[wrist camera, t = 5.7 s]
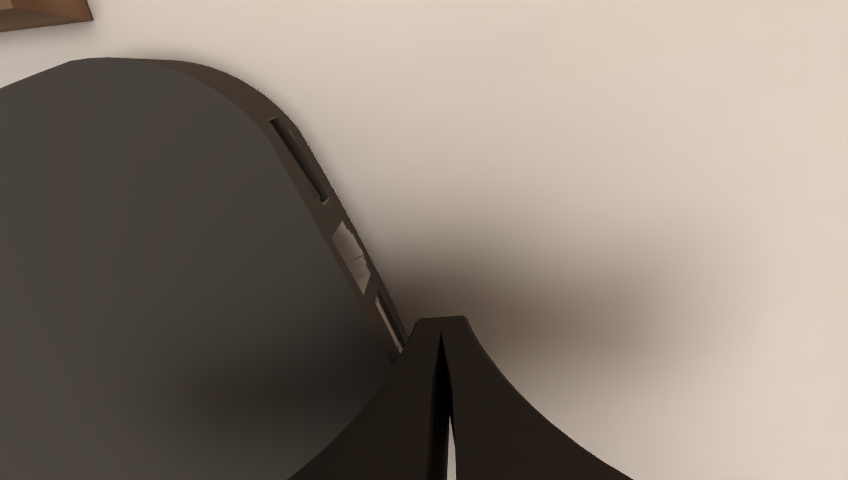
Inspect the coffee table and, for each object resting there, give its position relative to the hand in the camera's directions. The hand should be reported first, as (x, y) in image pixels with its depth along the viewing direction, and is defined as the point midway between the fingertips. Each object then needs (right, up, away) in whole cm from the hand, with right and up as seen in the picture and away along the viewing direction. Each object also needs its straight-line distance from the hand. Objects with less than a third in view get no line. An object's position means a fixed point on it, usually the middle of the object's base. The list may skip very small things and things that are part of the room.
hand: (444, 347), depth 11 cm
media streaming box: (-9, 0, +2) cm, 9 cm away
